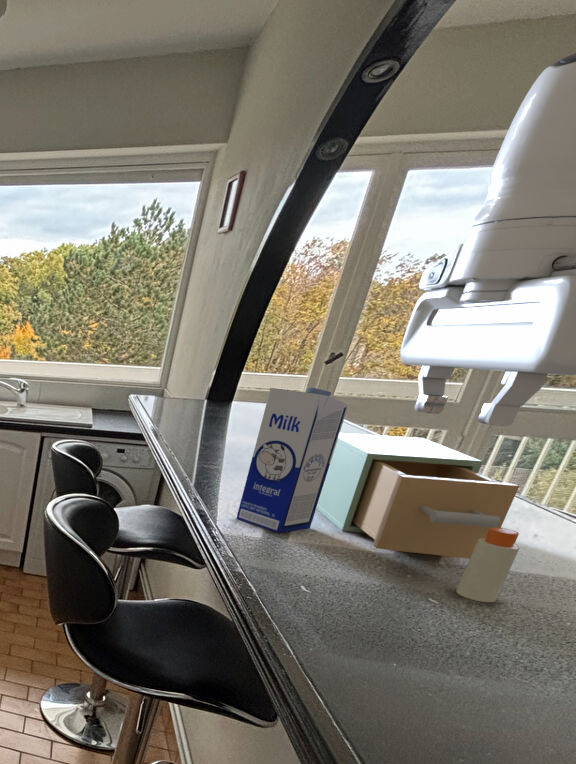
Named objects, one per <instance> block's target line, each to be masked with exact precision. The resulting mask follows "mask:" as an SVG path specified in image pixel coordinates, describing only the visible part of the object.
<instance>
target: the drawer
mask: <svg viewBox="0 0 576 764" xmlns="http://www.w3.org/2000/svg"><path fill="white" fill-rule="evenodd" d="M519 489H520V485H517V484H515V483H513V482H512V483H511V482H500V481H497V480H495V479H493V478H490V477H488V476H486V475H483V474H481V473H479V472H478V473H476V472H474V471H472V470H469V469H467V468H464V467H462V466H459V465H445V464H431V463H417V462H403V461H390V460H376V459H373V460H372V463H371V466H370V469H369V472H368V475H367V478H366V481H365V484H364V487H363V490H362V493H361V496H360V498H359V501H358V504H357V507H356V510H355V513H354V516H353V519H352V522H353V523H354V524H356V525H357V526H358V527H359V528H361V529H362V530H363V531H364V532H366V533H365V534H367V536H369V537H370V538H372V539H373V544H372V547H374V548H376V549H379V550H385V551H386V550H387V551H397V552H406V553H414V554H424V555H432V556H440V557H441V556H442V557H451V558H458V559H459V558H460V559H468V560H470V558H471V555H472V553H473V551H474V548H475V546H476V544H477V542H478V539H480V538H486V537H487V534H488V532H489V530H490V528H492V527H499V528H502V526H503V524H504V522H505V520H506V517H507V515H508V512H509V510H510V508H511V506H512V503H513V501H514V500H515V496H516V494H517V492H518V490H519Z"/></svg>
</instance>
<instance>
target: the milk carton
mask: <svg viewBox="0 0 576 764" xmlns="http://www.w3.org/2000/svg"><path fill="white" fill-rule="evenodd" d="M331 394H332V392H331V391H329V390H326V389H323V388H322V389H320V388H317V387H307V389H306V392H305V391H299V390H298V391H297V390H290V389H283V388H277V387H276V388H275V387H269V393H268V396H267V399H266V404H265V408H264V411H263V416H262V419H261V422H260V427H259V430H258V435H257V438H256V442H255V445H254V450H253V453H252V458H251V461H250V463H249V464H250V465H249V468H248V472H247V476H246V480H245V484H244V487H243V491H242V496H241V499H240V503H239V505H238V506H239V507H238V511H237V514H236V520H240V521H242V522H245V523H248V524H250V525H254V526H257V527H260V528H262V529H266V530H268V531H271V532H274V533H277V534H284V533H289V532H295V531H300V530H306V529H310V528H311V526H312V522H313V520H314V516H315V513H316V510H317V509H316V507H317V504H318V501H319V497H320V494H321V491H322V488H323V485H324V481H325V478H326V475H327V472H328V469H329V466H330V462H331V459H332V456H333V453H334V450H335V446H336V443H337V440H338V437H339V434H340V433H341V430H342V427H343V424H344V420H345V418H346V415H347V411H348V408H349V406H350V404H347V403H345V402H343V401H341V400H339V399H337V398H335V397H332V396H331Z"/></svg>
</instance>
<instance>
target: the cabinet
mask: <svg viewBox="0 0 576 764" xmlns="http://www.w3.org/2000/svg"><path fill="white" fill-rule="evenodd" d="M373 459H376V460H390V461H403V462H417V463H431V464H445V465H459V466H462V467H464V468H467V469H469V470H472V471H474V472H476V473H479V471H480V470H481V467H482V464H483V460H481V459H478V458H475V457H473V456H470V455H467V454H465V453H462V452H460V451H457V450H455V449H452V448H450V447H447V446H445V445H442V444H440V443H437V442H434V441H431V440H429V439H427V438H424V437H411V436H396V435H381V434H380V435H379V434H364V433H363V434H362V433H347V432H340V434H339V437H338V440H337V443H336V446H335V450H334V453H333V456H332V459H331V462H330V466H329V469H328V472H327V475H326V478H325V481H324V485H323V488H322V491H321V494H320V497H319V501H318V504H317V507H316V510H317V511H318V512H320V513H321V514H322V515H323V516H324V517H325V518H326V519H328V521H330V522H331V523H333V525H334V526H336V527H337V528H338V529H339V530H340V531H342V532H348V533H349V532H350V533H351V532H352V533H359V534H367V533H366V532H364V531H363V530H362V529H361V528H359V527H358V526H357V525H356V524H354V523H353V522H352V519H353V516H354V513H355V510H356V507H357V504H358V501H359V498H360V496H361V493H362V490H363V487H364V484H365V481H366V478H367V475H368V472H369V469H370V466H371V463H372V460H373Z"/></svg>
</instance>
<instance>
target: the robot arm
mask: <svg viewBox="0 0 576 764" xmlns="http://www.w3.org/2000/svg"><path fill="white" fill-rule="evenodd" d="M491 168H492V169H491V170H490V173H489V180H488V184H489V185H488V193H487V197H486V199H485V201H484V204H483V206H482V208H481V209H480V211H479V212H478V213H477V215H476V216H475V218H474V219H473V221H472V222H471V224H470V225H469V228H468V230H467V233H466V236H465V238H464V241H463V243H460V244H458V245H457V246H456V247H455V248H453V250H452V251H450V252H449V253H448V254H446V255H445V256H443V257H442V258H440V259H439V260H437V261H436V262H434V263H432V264H430V265H429V266H428V267H427V268H425V269H424V271H423V273H422V275H421V277H420V281H419V285H418V288H419V289H420V290H424V291H425V292H424V293H422V294H421V296H420V297H419V298H418V299H417V301H416V303H415V305H414V307H413V309H412V312H411V315H410V317H409V320H408V323H407V327H406V329H405V332H404V335H403V338H402V342H401V345H400V351H399V352H400V353H399V354H400V362H401V363H402V364H403V365H411V366H419V367H420V366H421V368H420V370H419V373H418V376H417V381H418V382H417V383H418V397H417V400H416V403H415V404H414V411H416V412H417V413H424V414H434V415H439V414H441V413H442V412H444V409H445V406H446V404H447V402H448V400H449V396H445V389H446V382H447V380H450V379H451V377H452V375H453V373H454V370H455V369H471V370H483V371H484V370H485V371H497V372H498V371H499V372H500V371H501V372H504V375H503V377H502V380H501V381H500V384H501V385H504V386H503V387H502V389H501V390H500V391H499V392H498V394H496V396H495V397H494V398H493V400H492V401H491V402H489V403H488V402H484V403H483V405H482V408H481V410H480V411H481V412H480V413H479V415H478V417H477V421H478V422H479V423H480V424H483V425H484V424H485V425H489V426H498V427H509V426H511V425H512V424H513V423H514V421H515V419H516V417H517V415H518V413H519V411H520V409H521V408H522V407H523V406H524V405H525V404H526V403H527V402H528V401H529V400H530V399H531V398H532V397H534V396H535V395H536V394H537V393H538V392H540V390H541V389H542V388H543V386H544V384H545V382H546V379H547V377H548V375H558V376H559V375H561V376H575V377H576V52H575V53H572V54H570V55H568V56H565V57H563V58H561V59H560V60H557V61H556V62H555V63H552V64H551V65H549V66H547V67H546V68H545V69H544V70H543V71H542V72H541V73H540V74H539V75H538V77H537V78H536V80H535V81H534V82H533V84H532V85H531V86H530V89H529V90H528V91H527V93H526V95H525V97H524V98H523V100H522V101H521V104H520V106H519V107H518V109H517V112H516V113H515V115H514V117H513V119H512V121H511V124H510V126H509V127H508V129H507V132H506V135H505V136H504V139H503V141H502V143H501V146H500V148H499V151H498V153H497V155H496V157H495V161H494V163H493V165H492V167H491Z"/></svg>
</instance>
